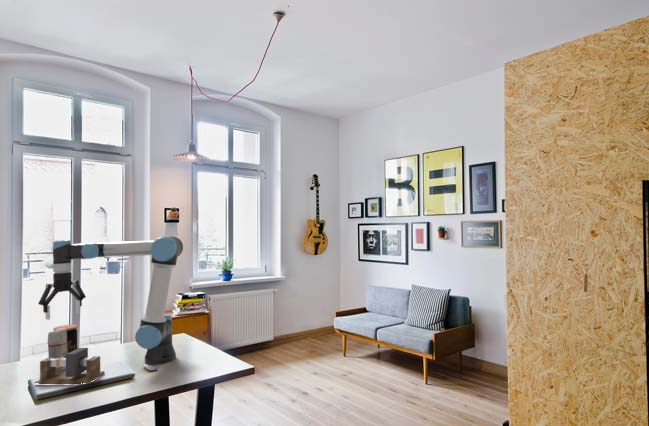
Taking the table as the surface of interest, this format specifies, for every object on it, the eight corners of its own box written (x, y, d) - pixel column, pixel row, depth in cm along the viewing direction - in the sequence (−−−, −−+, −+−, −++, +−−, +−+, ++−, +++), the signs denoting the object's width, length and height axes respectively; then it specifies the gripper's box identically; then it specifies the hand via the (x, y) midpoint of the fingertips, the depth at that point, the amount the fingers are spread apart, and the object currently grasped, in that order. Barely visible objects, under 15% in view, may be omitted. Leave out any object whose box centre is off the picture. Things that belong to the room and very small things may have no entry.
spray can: (58, 373, 199) (58, 331, 199) (43, 372, 200) (44, 330, 201) (72, 367, 207) (72, 327, 208) (58, 366, 208) (58, 326, 209)
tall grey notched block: (87, 369, 194) (87, 347, 195) (74, 376, 184) (74, 354, 185) (79, 369, 194) (79, 347, 195) (65, 377, 184) (65, 354, 185)
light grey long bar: (95, 364, 191) (95, 356, 191) (91, 366, 188) (91, 358, 188) (50, 365, 192) (50, 357, 192) (45, 367, 188) (45, 359, 188)
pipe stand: (104, 374, 196) (104, 353, 196) (88, 384, 183) (88, 362, 183) (54, 375, 196) (54, 354, 196) (34, 385, 183) (34, 363, 183)
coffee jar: (52, 366, 209) (52, 330, 210) (54, 360, 219) (54, 326, 220) (76, 362, 214) (76, 327, 215) (78, 357, 224) (77, 323, 225)
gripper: (84, 269, 213) (85, 310, 212) (29, 275, 192) (30, 321, 191) (92, 269, 209) (93, 312, 208) (37, 275, 188) (38, 322, 187)
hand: (63, 316), depth 200 cm, fingers open, 13 cm apart
